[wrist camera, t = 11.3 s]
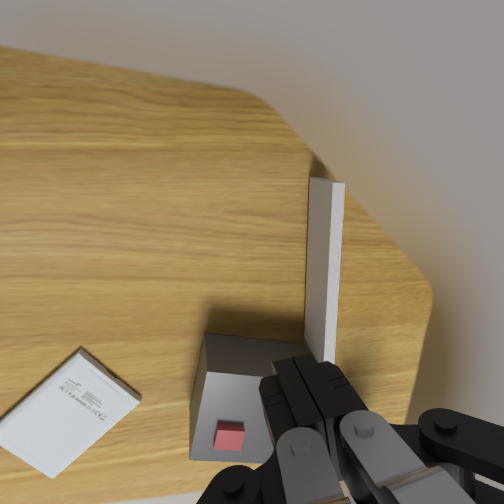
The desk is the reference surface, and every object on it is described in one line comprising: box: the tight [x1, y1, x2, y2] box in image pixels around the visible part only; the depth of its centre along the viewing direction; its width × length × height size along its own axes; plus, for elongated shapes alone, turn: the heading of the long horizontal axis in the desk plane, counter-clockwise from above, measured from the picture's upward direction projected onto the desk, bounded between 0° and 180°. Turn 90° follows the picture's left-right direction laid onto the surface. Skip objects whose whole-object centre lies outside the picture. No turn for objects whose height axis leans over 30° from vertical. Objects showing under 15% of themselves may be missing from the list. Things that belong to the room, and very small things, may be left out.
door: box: [303, 177, 345, 364], centre depth 35 cm, size 18×2×6 cm, turn 1°
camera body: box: [189, 333, 308, 464], centre depth 37 cm, size 13×9×8 cm
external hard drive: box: [0, 349, 142, 478], centre depth 38 cm, size 2×8×12 cm
